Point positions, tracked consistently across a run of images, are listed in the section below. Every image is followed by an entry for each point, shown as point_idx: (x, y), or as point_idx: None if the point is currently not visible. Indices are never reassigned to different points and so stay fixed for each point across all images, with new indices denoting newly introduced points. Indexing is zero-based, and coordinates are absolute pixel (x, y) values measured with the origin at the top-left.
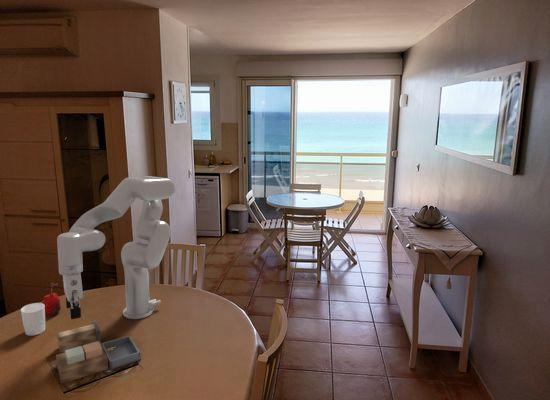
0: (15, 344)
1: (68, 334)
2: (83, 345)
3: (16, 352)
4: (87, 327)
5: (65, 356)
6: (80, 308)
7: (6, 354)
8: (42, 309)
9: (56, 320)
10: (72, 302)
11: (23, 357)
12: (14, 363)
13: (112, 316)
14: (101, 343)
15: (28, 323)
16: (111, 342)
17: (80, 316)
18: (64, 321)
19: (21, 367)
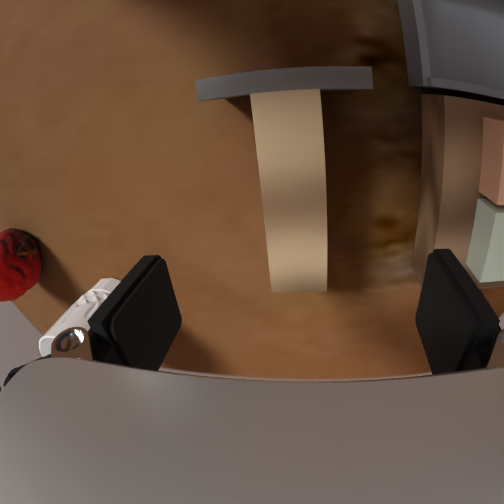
0: (189, 353)
1: (320, 247)
2: (498, 202)
3: (241, 356)
4: (285, 134)
5: (469, 265)
6: (489, 307)
7: (241, 373)
8: None
9: (62, 239)
10: (151, 314)
11: (285, 345)
12: (308, 363)
13: (86, 21)
14: (425, 84)
15: None
16: (424, 37)
17: (448, 254)
18: (71, 214)
19: (345, 350)
